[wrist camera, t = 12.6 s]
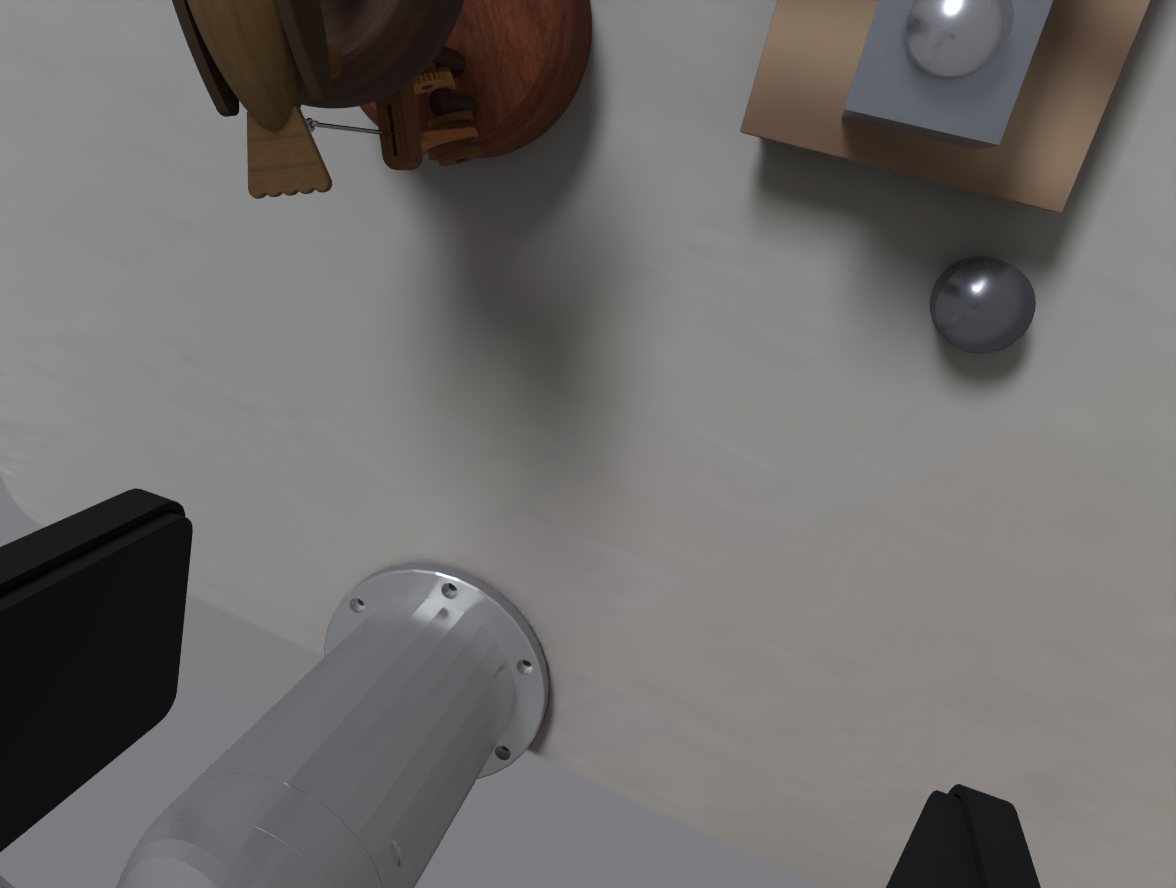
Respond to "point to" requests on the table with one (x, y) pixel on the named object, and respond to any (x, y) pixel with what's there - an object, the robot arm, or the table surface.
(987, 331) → the dark grey round piece
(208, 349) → the table surface
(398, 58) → the music box
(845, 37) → the stand
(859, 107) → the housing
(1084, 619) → the table surface
